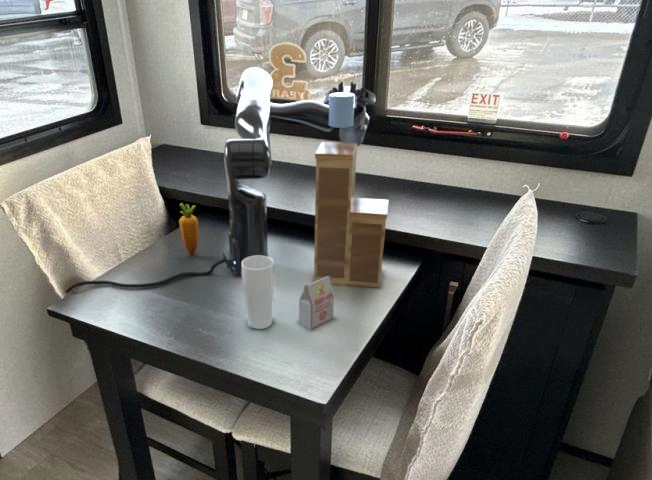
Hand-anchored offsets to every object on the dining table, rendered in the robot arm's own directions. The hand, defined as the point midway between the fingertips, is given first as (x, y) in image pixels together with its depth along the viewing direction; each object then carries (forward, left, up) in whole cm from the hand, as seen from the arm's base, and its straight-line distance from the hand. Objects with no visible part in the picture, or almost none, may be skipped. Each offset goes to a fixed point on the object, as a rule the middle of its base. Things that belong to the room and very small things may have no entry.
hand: (346, 85), depth 130 cm
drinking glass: (-31, -29, -43) cm, 60 cm away
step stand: (-4, -15, -43) cm, 45 cm away
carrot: (-39, +10, -43) cm, 59 cm away
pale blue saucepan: (-2, -3, -7) cm, 8 cm away
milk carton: (-19, -32, -43) cm, 57 cm away
